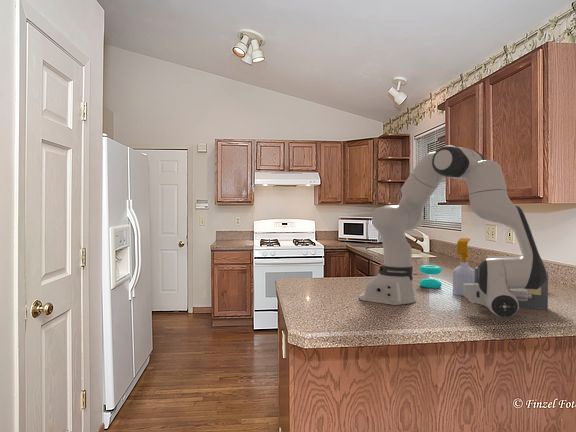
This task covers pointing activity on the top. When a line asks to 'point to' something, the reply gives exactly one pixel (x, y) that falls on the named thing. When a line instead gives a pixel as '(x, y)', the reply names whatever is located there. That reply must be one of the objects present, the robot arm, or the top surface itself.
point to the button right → (534, 291)
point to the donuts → (432, 270)
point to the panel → (536, 300)
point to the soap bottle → (462, 269)
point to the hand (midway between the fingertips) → (491, 287)
